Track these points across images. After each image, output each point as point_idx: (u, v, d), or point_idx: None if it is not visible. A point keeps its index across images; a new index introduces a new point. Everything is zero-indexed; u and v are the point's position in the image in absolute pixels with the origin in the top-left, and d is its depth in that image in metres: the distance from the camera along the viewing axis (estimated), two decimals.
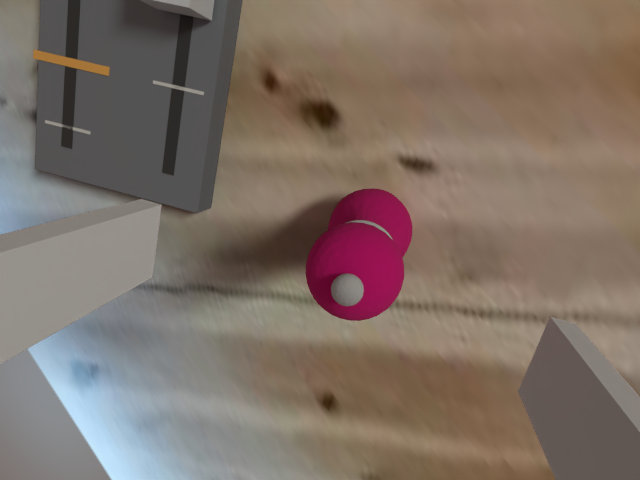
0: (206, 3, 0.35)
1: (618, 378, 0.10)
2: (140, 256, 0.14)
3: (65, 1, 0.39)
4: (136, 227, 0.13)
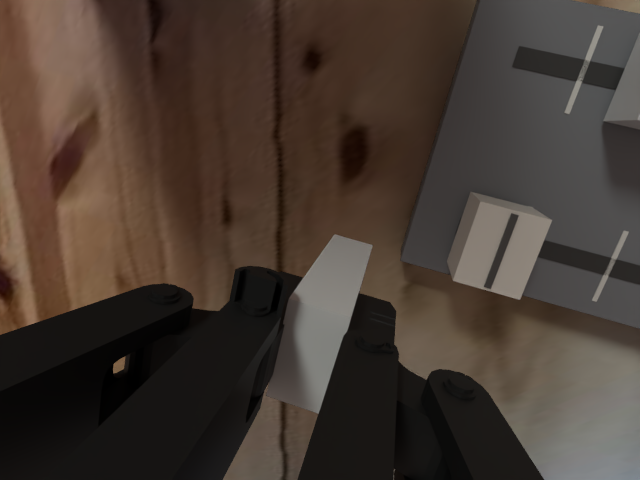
0: None
1: (360, 269, 0.13)
2: None
3: (617, 283, 0.28)
4: None
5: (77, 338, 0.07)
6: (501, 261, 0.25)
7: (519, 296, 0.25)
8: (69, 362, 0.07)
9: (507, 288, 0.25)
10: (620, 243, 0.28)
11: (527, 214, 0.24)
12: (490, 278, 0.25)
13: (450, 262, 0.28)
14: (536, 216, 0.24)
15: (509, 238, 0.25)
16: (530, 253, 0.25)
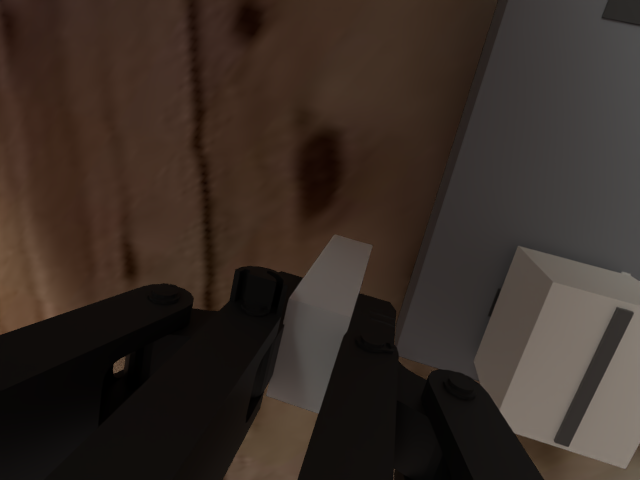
0: None
1: (360, 269, 0.13)
2: None
3: None
4: None
5: (77, 338, 0.07)
6: (592, 397, 0.13)
7: (625, 462, 0.13)
8: (69, 362, 0.07)
9: (601, 446, 0.13)
10: None
11: None
12: (568, 427, 0.13)
13: (482, 371, 0.16)
14: None
15: (611, 356, 0.12)
16: None
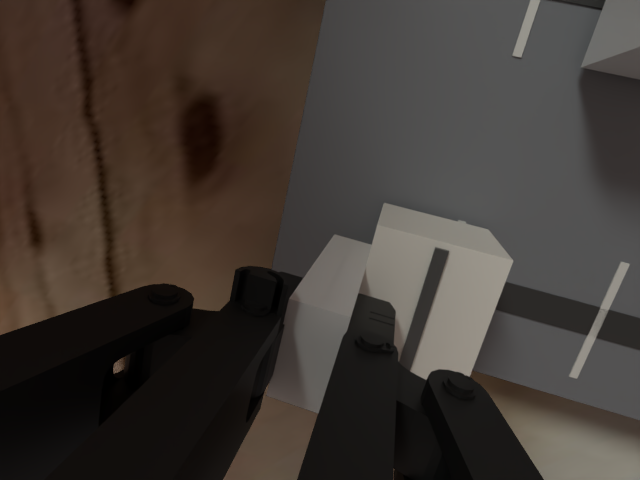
0: None
1: (359, 268, 0.13)
2: None
3: (611, 349, 0.17)
4: None
5: (77, 338, 0.07)
6: (421, 335, 0.13)
7: None
8: (69, 362, 0.07)
9: None
10: (616, 282, 0.16)
11: (466, 249, 0.13)
12: (403, 365, 0.14)
13: None
14: (483, 253, 0.12)
15: (433, 294, 0.13)
16: (475, 321, 0.13)
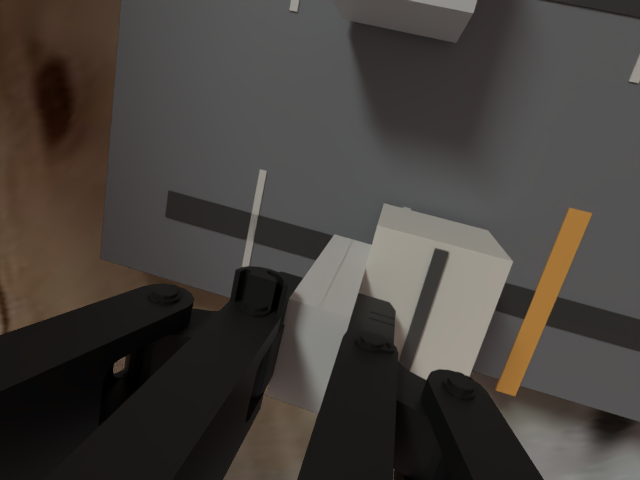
0: None
1: (359, 269, 0.13)
2: None
3: None
4: None
5: (77, 338, 0.07)
6: (421, 335, 0.13)
7: None
8: (69, 362, 0.07)
9: None
10: None
11: (465, 250, 0.13)
12: None
13: None
14: (483, 254, 0.12)
15: (433, 295, 0.13)
16: (474, 322, 0.13)
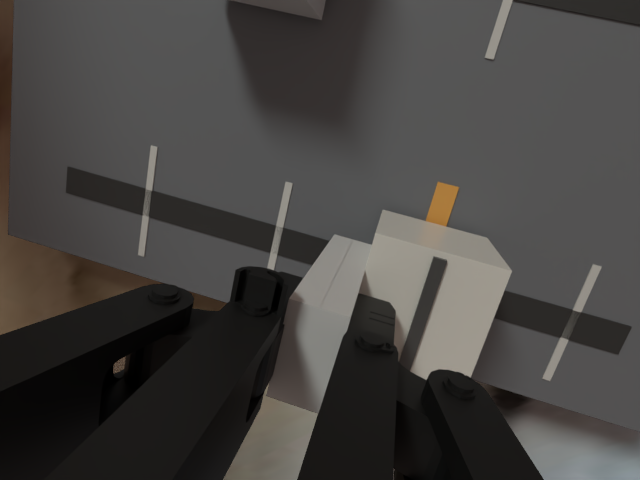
0: None
1: (359, 268, 0.13)
2: None
3: (292, 265, 0.18)
4: None
5: (77, 338, 0.07)
6: (418, 344, 0.13)
7: None
8: (69, 362, 0.07)
9: None
10: (286, 202, 0.18)
11: (464, 258, 0.12)
12: None
13: None
14: (481, 263, 0.12)
15: (431, 303, 0.13)
16: (472, 332, 0.13)
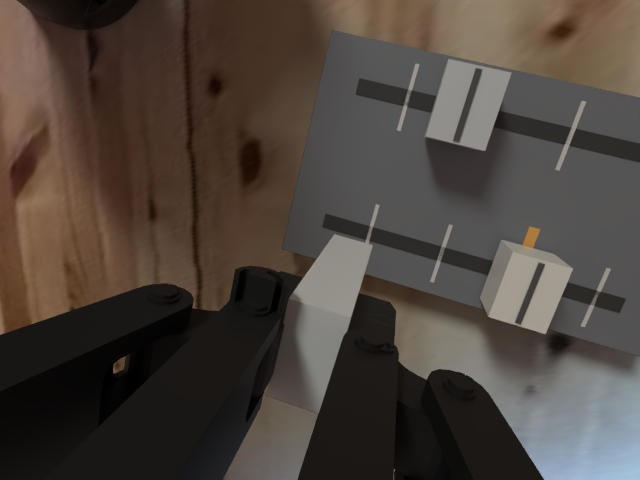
0: None
1: (359, 269, 0.13)
2: None
3: (448, 267, 0.35)
4: None
5: (77, 338, 0.07)
6: (530, 301, 0.30)
7: (545, 331, 0.30)
8: (69, 362, 0.07)
9: (534, 324, 0.30)
10: (448, 234, 0.34)
11: (552, 263, 0.29)
12: (520, 315, 0.30)
13: (484, 299, 0.33)
14: (559, 265, 0.29)
15: (537, 283, 0.29)
16: (554, 295, 0.30)
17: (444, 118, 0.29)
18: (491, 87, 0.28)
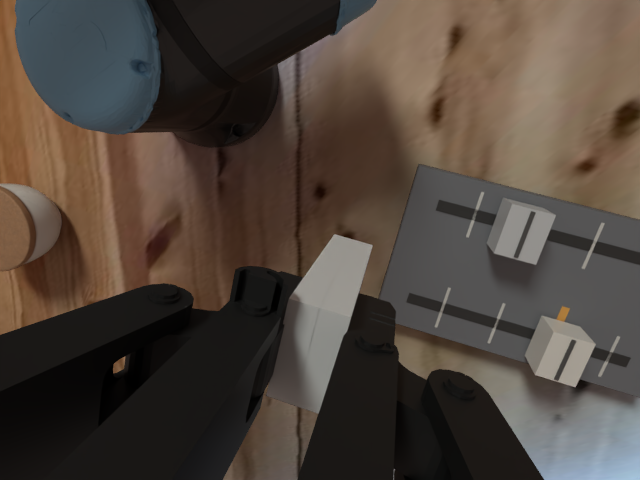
0: (536, 207, 0.42)
1: (360, 269, 0.13)
2: None
3: (501, 333, 0.48)
4: None
5: (77, 338, 0.07)
6: (565, 365, 0.43)
7: (575, 385, 0.43)
8: (69, 362, 0.07)
9: (568, 380, 0.43)
10: (501, 310, 0.47)
11: (581, 340, 0.42)
12: (558, 374, 0.43)
13: (529, 358, 0.46)
14: (586, 341, 0.42)
15: (570, 353, 0.42)
16: (582, 361, 0.42)
17: (507, 242, 0.41)
18: (541, 223, 0.40)
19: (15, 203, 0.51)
